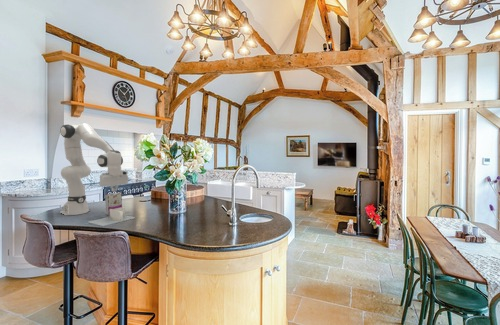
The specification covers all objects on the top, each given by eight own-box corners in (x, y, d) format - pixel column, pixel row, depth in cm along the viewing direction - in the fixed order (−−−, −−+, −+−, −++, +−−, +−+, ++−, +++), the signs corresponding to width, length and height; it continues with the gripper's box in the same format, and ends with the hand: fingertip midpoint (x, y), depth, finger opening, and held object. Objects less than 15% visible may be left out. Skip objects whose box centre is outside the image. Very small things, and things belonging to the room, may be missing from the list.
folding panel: (121, 220, 184) (121, 212, 184) (111, 218, 190) (111, 210, 189) (123, 219, 185) (123, 211, 185) (113, 217, 191) (113, 209, 191)
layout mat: (87, 222, 181) (87, 221, 181) (120, 215, 203) (120, 214, 203) (103, 226, 172) (103, 225, 172) (135, 218, 194) (135, 217, 194)
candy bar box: (119, 211, 213) (118, 192, 213) (122, 212, 211) (122, 192, 210) (105, 214, 204) (104, 194, 203) (108, 215, 201) (108, 194, 201)
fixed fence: (109, 218, 191) (109, 209, 190) (123, 215, 201) (123, 206, 200) (110, 218, 190) (110, 209, 189) (125, 215, 200) (125, 206, 199)
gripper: (102, 173, 177) (102, 193, 178) (129, 172, 195) (129, 190, 195) (97, 172, 180) (97, 192, 181) (124, 171, 198) (124, 189, 199)
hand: (114, 191), depth 188 cm, fingers closed
